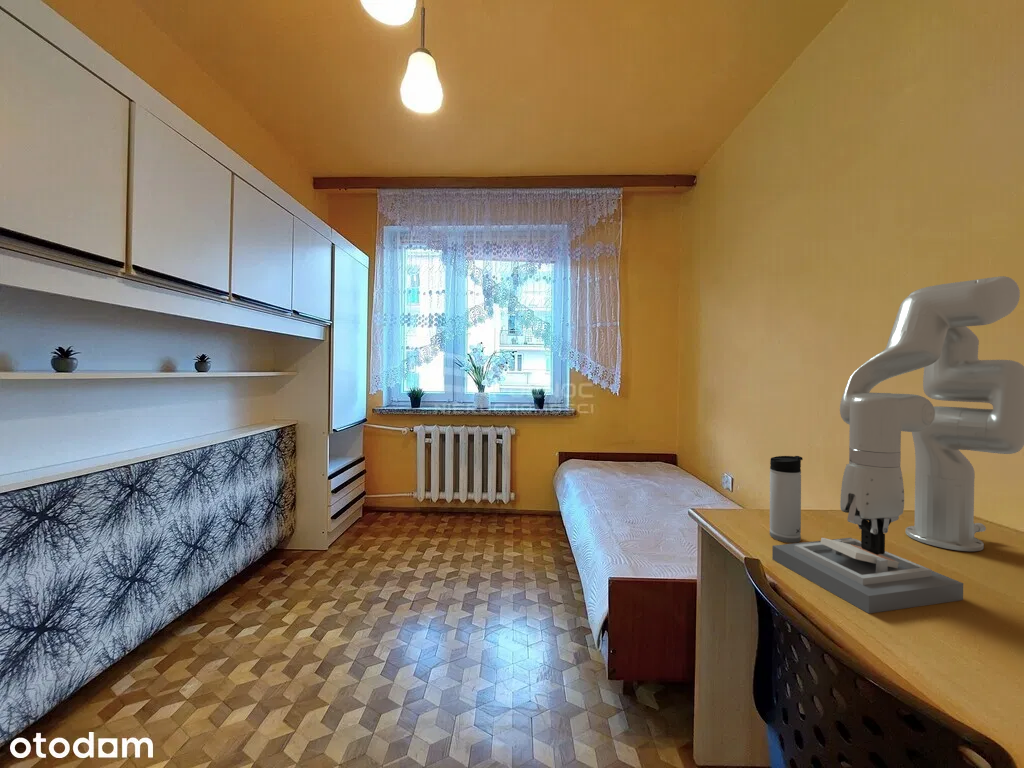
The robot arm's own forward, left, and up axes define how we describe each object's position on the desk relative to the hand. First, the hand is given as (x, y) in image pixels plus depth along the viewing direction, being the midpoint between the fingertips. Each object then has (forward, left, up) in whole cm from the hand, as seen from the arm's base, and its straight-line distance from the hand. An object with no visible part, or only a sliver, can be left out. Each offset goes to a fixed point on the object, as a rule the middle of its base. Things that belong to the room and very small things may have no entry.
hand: (872, 551), depth 80 cm
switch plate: (+3, 0, -5) cm, 6 cm away
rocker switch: (+3, 0, 0) cm, 3 cm away
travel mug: (+1, -19, -5) cm, 20 cm away
